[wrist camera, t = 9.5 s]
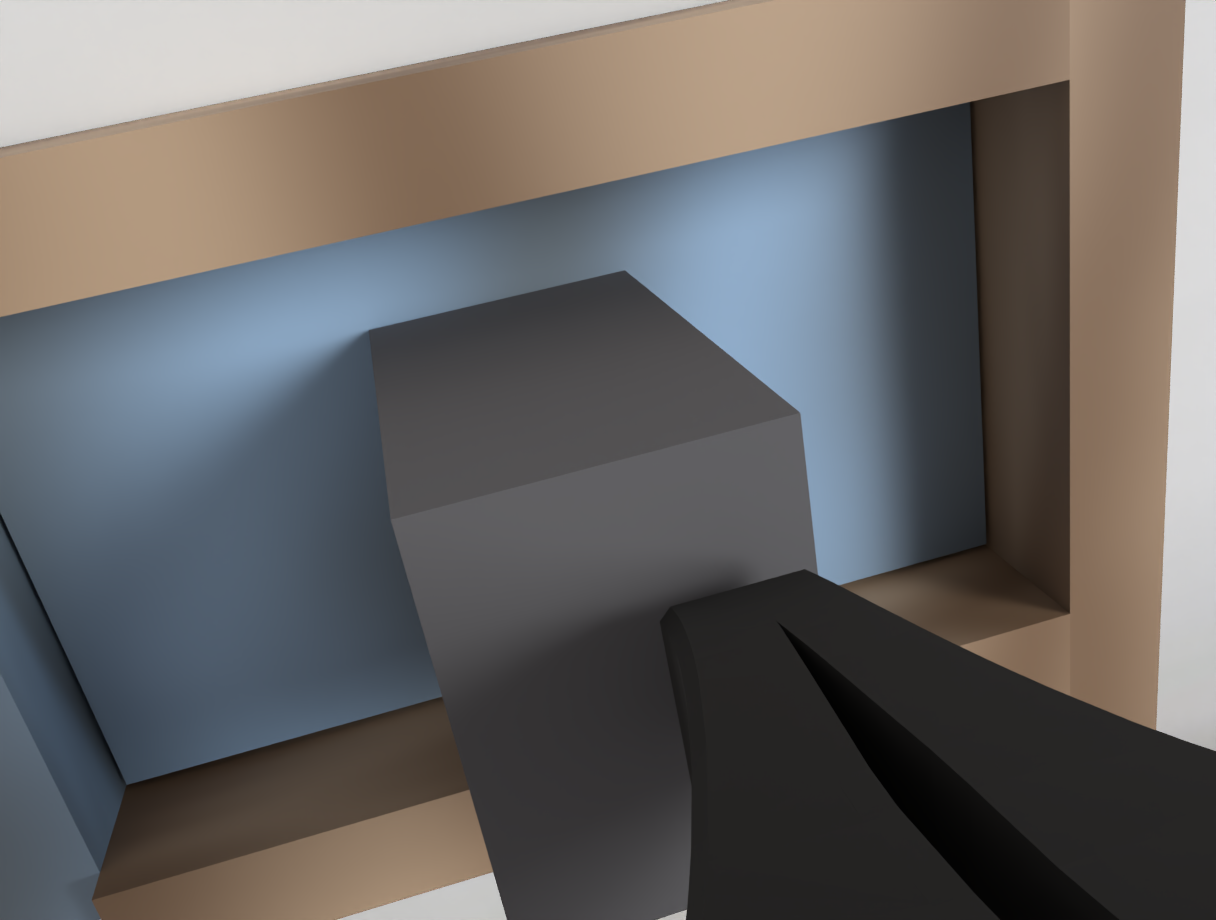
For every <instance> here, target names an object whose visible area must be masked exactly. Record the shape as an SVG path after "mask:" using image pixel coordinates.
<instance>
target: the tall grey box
mask: <svg viewBox="0 0 1216 920" xmlns="http://www.w3.org/2000/svg"><path fill="white" fill-rule="evenodd" d="M369 338H370V346H371V355H372V363H373V372H374V381H375V389H376V398H377V407H378V415H379V424H380V432H381V441H382V450H383V458H384V467H385V476H386V484H387V493H388V502H389V510H390V519H391V523H392V526H393V530H394V533H395V537H396V540H397V543H398V547H399V550H400V554H401V557H402V561H403V564H404V567H405V571H406V574H407V578H408V581H409V585H410V588H411V591H412V595H413V598H414V602H415V605H416V609H417V612H418V616H419V619H420V622H421V626H422V629H423V633H424V636H425V640H426V643H427V646H428V650H429V653H430V657H431V660H432V664H433V667H434V670H435V674H436V677H437V681H438V684H439V688H440V691H441V694H442V698H443V701H444V705H445V708H446V712H447V715H448V718H449V722H450V725H451V729H452V732H453V736H454V739H455V742H456V746H457V749H458V753H459V756H460V760H461V763H462V766H463V770H464V773H465V777H466V780H467V784H468V787H469V790H470V794H471V797H472V801H473V804H474V808H475V811H476V814H477V818H478V821H479V825H480V828H481V832H482V835H483V838H484V842H485V845H486V849H487V852H488V856H489V859H490V862H491V866H492V869H493V873H494V876H495V880H496V883H497V886H498V890H499V893H500V897H501V900H502V904H503V907H504V910H505V914H506V917H507V920H656V919H659V918H662V917H666V916H669V915H672V914H675V913H678V912H681V911H684V910H687V903H688V891H689V875H690V858H691V801H692V785H691V780H690V775H689V770H688V765H687V760H686V754H685V749H684V744H683V739H682V734H681V729H680V724H679V718H678V713H677V708H676V703H675V698H674V693H673V688H672V682H671V677H670V672H669V667H668V662H667V657H666V652H665V646H664V641H663V636H662V631H661V626H660V620H661V619H662V618H663V616H664V615H665V613H666V612H667V611H668V609H669V608H670V607H671V606H674V605H678V604H681V603H685V602H689V601H692V600H696V599H699V598H703V597H707V596H710V595H714V594H717V593H721V592H724V591H728V590H732V589H735V588H739V587H742V586H746V585H749V584H753V583H757V582H760V581H764V580H767V579H771V578H775V577H778V576H782V575H785V574H789V573H792V572H796V571H800V570H803V569H806V570H808V571H810V572H812V573H814V574H817V575H818V570H817V561H816V552H815V542H814V533H813V524H812V515H811V506H810V496H809V487H808V478H807V469H806V460H805V450H804V441H803V432H802V423H801V414H800V412H799V411H798V410H796V409H795V408H794V407H793V406H791V405H790V404H789V403H788V402H786V401H785V400H784V399H783V398H782V397H780V396H779V395H778V394H777V393H775V392H774V391H773V390H772V389H771V388H769V387H768V386H767V385H766V384H764V383H763V382H762V381H761V380H759V379H758V378H757V377H756V376H755V375H753V374H752V373H751V372H750V371H748V370H747V369H746V368H745V367H743V366H742V365H741V364H740V363H739V362H737V361H736V360H735V359H734V358H732V357H731V356H730V355H729V354H727V353H726V352H725V351H724V350H723V349H721V348H720V347H719V346H718V345H716V344H715V343H714V342H713V341H711V340H710V339H709V338H708V337H707V336H705V335H704V334H703V333H702V332H700V331H699V330H698V329H697V328H695V327H694V326H693V325H692V324H691V323H689V322H688V321H687V320H686V319H684V318H683V317H682V316H681V315H679V314H678V313H677V312H676V311H675V310H673V309H672V308H671V307H670V306H668V305H667V304H666V303H665V302H663V301H662V300H661V299H660V298H659V297H657V296H656V295H655V294H654V293H652V292H651V291H650V290H649V289H647V288H646V287H645V286H644V285H643V284H641V283H640V282H639V281H638V280H636V279H635V278H634V277H633V276H631V275H630V274H629V273H628V272H627V271H625V270H623V271H619V272H615V273H611V274H606V275H602V276H598V277H594V278H589V279H585V280H581V281H576V282H572V283H568V284H564V285H559V286H555V287H551V288H547V289H542V290H538V291H534V292H530V293H525V294H521V295H517V296H512V297H508V298H504V299H500V300H495V301H491V302H487V303H483V304H478V305H474V306H470V307H466V308H461V309H457V310H453V311H448V312H444V313H440V314H436V315H431V316H427V317H423V318H419V319H414V320H410V321H406V322H401V323H397V324H393V325H389V326H384V327H380V328H376V329H372V330H369Z"/></svg>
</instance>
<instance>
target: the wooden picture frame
mask: <svg viewBox="0 0 1216 920" xmlns="http://www.w3.org/2000/svg"><path fill="white" fill-rule="evenodd" d="M1184 24H1185V0H728V1H724V2H719V3H714V4H709V5H704V6H699V7H694V8H689V9H684V10H679V11H674V12H669V13H664V14H659V15H654V16H649V17H644V18H639V19H635V20H630V21H625V22H620V23H615V24H610V25H605V26H600V27H595V28H590V29H585V30H580V31H575V32H570V33H565V34H560V35H555V36H550V37H546V38H541V39H536V40H531V41H526V42H521V43H516V44H511V45H506V46H501V47H496V48H491V49H486V50H481V51H476V52H471V53H466V54H461V55H457V56H452V57H447V58H442V59H437V60H432V61H427V62H422V63H417V64H412V65H407V66H402V67H397V68H392V69H387V70H382V71H377V72H372V73H368V74H363V75H358V76H353V77H348V78H343V79H338V80H333V81H328V82H323V83H318V84H313V85H308V86H303V87H298V88H293V89H288V90H283V91H279V92H274V93H269V94H264V95H259V96H254V97H249V98H244V99H239V100H234V101H229V102H224V103H219V104H214V105H209V106H204V107H199V108H194V109H190V110H185V111H180V112H175V113H170V114H165V115H160V116H155V117H150V118H145V119H140V120H135V121H130V122H125V123H120V124H115V125H110V126H105V127H101V128H96V129H91V130H86V131H81V132H76V133H71V134H66V135H61V136H56V137H51V138H46V139H41V140H36V141H31V142H26V143H21V144H16V145H12V146H7V147H2V148H0V920H99V919H101V920H336V919H340V918H343V917H346V916H350V915H353V914H356V913H359V912H363V911H366V910H369V909H373V908H376V907H379V906H382V905H386V904H389V903H392V902H396V901H399V900H402V899H406V898H409V897H412V896H415V895H419V894H422V893H425V892H429V891H432V890H435V889H438V888H442V887H445V886H448V885H452V884H455V883H458V882H461V881H465V880H468V879H471V878H475V877H478V876H481V875H485V874H488V873H491V872H493V869H492V866H491V862H490V859H489V856H488V852H487V849H486V845H485V842H484V838H483V835H482V832H481V828H480V825H479V821H478V818H477V814H476V811H475V808H474V804H473V801H472V797H471V794H470V790H469V787H468V784H467V780H466V777H465V773H464V770H463V766H462V763H461V760H460V756H459V753H458V749H457V746H456V742H455V739H454V736H453V732H452V729H451V725H450V722H449V718H448V715H447V712H446V708H445V705H444V701H443V698H442V694H441V691H440V688H439V684H438V681H437V677H436V674H435V670H434V667H433V664H432V660H431V657H430V653H429V650H428V646H427V643H426V640H425V636H424V633H423V629H422V626H421V622H420V619H419V616H418V612H417V609H416V605H415V602H414V598H413V595H412V591H411V588H410V585H409V581H408V578H407V574H406V571H405V567H404V564H403V561H402V557H401V554H400V550H399V547H398V543H397V540H396V537H395V533H394V530H393V526H392V523H391V519H390V510H389V502H388V493H387V484H386V476H385V467H384V458H383V450H382V441H381V432H380V424H379V415H378V407H377V398H376V389H375V381H374V372H373V363H372V355H371V346H370V338H369V330H372V329H376V328H380V327H384V326H389V325H393V324H397V323H401V322H406V321H410V320H414V319H419V318H423V317H427V316H431V315H436V314H440V313H444V312H448V311H453V310H457V309H461V308H466V307H470V306H474V305H478V304H483V303H487V302H491V301H495V300H500V299H504V298H508V297H512V296H517V295H521V294H525V293H530V292H534V291H538V290H542V289H547V288H551V287H555V286H559V285H564V284H568V283H572V282H576V281H581V280H585V279H589V278H594V277H598V276H602V275H606V274H611V273H615V272H619V271H623V270H625V271H627V272H628V273H629V274H630V275H631V276H633V277H634V278H635V279H636V280H638V281H639V282H640V283H641V284H643V285H644V286H645V287H646V288H647V289H649V290H650V291H651V292H652V293H654V294H655V295H656V296H657V297H659V298H660V299H661V300H662V301H663V302H665V303H666V304H667V305H668V306H670V307H671V308H672V309H673V310H675V311H676V312H677V313H678V314H679V315H681V316H682V317H683V318H684V319H686V320H687V321H688V322H689V323H691V324H692V325H693V326H694V327H695V328H697V329H698V330H699V331H700V332H702V333H703V334H704V335H705V336H707V337H708V338H709V339H710V340H711V341H713V342H714V343H715V344H716V345H718V346H719V347H720V348H721V349H723V350H724V351H725V352H726V353H727V354H729V355H730V356H731V357H732V358H734V359H735V360H736V361H737V362H739V363H740V364H741V365H742V366H743V367H745V368H746V369H747V370H748V371H750V372H751V373H752V374H753V375H755V376H756V377H757V378H758V379H759V380H761V381H762V382H763V383H764V384H766V385H767V386H768V387H769V388H771V389H772V390H773V391H774V392H775V393H777V394H778V395H779V396H780V397H782V398H783V399H784V400H785V401H786V402H788V403H789V404H790V405H791V406H793V407H794V408H795V409H796V410H798V411H799V412H800V414H801V423H802V432H803V441H804V450H805V460H806V469H807V478H808V487H809V496H810V506H811V515H812V524H813V533H814V542H815V552H816V561H817V570H818V575H819V576H821V577H823V578H825V579H827V580H829V581H831V582H833V583H835V584H837V585H839V586H841V587H843V588H845V589H847V590H849V591H851V592H853V593H855V594H857V595H859V596H861V597H863V598H865V599H866V600H868V601H870V602H872V603H874V604H876V605H878V606H880V607H882V608H884V609H886V610H888V611H890V612H892V613H894V614H896V615H898V616H900V617H902V618H904V619H906V620H908V621H910V622H912V623H914V624H916V625H917V626H919V627H921V628H924V629H926V630H928V631H930V632H932V633H934V634H936V635H938V636H940V637H942V638H944V639H946V640H948V641H950V642H952V643H954V644H956V645H958V646H960V647H962V648H964V649H967V650H969V651H971V652H973V653H975V654H977V655H979V656H981V657H983V658H985V659H988V660H990V661H992V662H994V663H996V664H998V665H1001V666H1003V667H1005V668H1007V669H1009V670H1011V671H1014V672H1016V673H1018V674H1020V675H1023V676H1025V677H1027V678H1029V679H1032V680H1034V681H1036V682H1038V683H1041V684H1043V685H1045V686H1047V687H1050V688H1052V689H1054V690H1057V691H1059V692H1062V693H1064V694H1067V695H1069V696H1072V697H1074V698H1076V699H1079V700H1081V701H1084V702H1086V703H1089V704H1091V705H1094V706H1096V707H1098V708H1101V709H1103V710H1106V711H1108V712H1111V713H1113V714H1115V715H1118V716H1120V717H1123V718H1125V719H1128V720H1130V721H1133V722H1135V723H1138V724H1140V725H1143V726H1146V727H1148V728H1151V729H1154V730H1156V718H1157V693H1158V668H1159V643H1160V618H1161V594H1162V569H1163V544H1164V519H1165V495H1166V470H1167V445H1168V420H1169V396H1170V371H1171V346H1172V321H1173V296H1174V272H1175V247H1176V222H1177V197H1178V173H1179V148H1180V123H1181V98H1182V74H1183V49H1184Z"/></svg>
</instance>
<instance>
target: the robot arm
mask: <svg viewBox="0 0 1216 920" xmlns="http://www.w3.org/2000/svg"><path fill="white" fill-rule="evenodd" d="M660 626H661V631H662V636H663V641H664V646H665V652H666V657H667V662H668V667H669V672H670V677H671V682H672V688H673V693H674V698H675V703H676V708H677V713H678V718H679V724H680V729H681V734H682V739H683V744H684V749H685V754H686V760H687V765H688V770H689V775H690V780H691V785H692V801H691V858H690V875H689V891H688V903H687V915H686V920H1216V751H1213V750H1210V749H1207V748H1204V747H1201V746H1198V745H1195V744H1192V743H1189V742H1186V741H1184V740H1181V739H1178V738H1176V737H1173V736H1170V735H1167V734H1165V733H1162V732H1159V731H1157V730H1154V729H1151V728H1148V727H1146V726H1143V725H1140V724H1138V723H1135V722H1133V721H1130V720H1128V719H1125V718H1123V717H1120V716H1118V715H1115V714H1113V713H1111V712H1108V711H1106V710H1103V709H1101V708H1098V707H1096V706H1094V705H1091V704H1089V703H1086V702H1084V701H1081V700H1079V699H1076V698H1074V697H1072V696H1069V695H1067V694H1064V693H1062V692H1059V691H1057V690H1054V689H1052V688H1050V687H1047V686H1045V685H1043V684H1041V683H1038V682H1036V681H1034V680H1032V679H1029V678H1027V677H1025V676H1023V675H1020V674H1018V673H1016V672H1014V671H1011V670H1009V669H1007V668H1005V667H1003V666H1001V665H998V664H996V663H994V662H992V661H990V660H988V659H985V658H983V657H981V656H979V655H977V654H975V653H973V652H971V651H969V650H967V649H964V648H962V647H960V646H958V645H956V644H954V643H952V642H950V641H948V640H946V639H944V638H942V637H940V636H938V635H936V634H934V633H932V632H930V631H928V630H926V629H924V628H921V627H919V626H917V625H916V624H914V623H912V622H910V621H908V620H906V619H904V618H902V617H900V616H898V615H896V614H894V613H892V612H890V611H888V610H886V609H884V608H882V607H880V606H878V605H876V604H874V603H872V602H870V601H868V600H866V599H865V598H863V597H861V596H859V595H857V594H855V593H853V592H851V591H849V590H847V589H845V588H843V587H841V586H839V585H837V584H835V583H833V582H831V581H829V580H827V579H825V578H823V577H821V576H819V575H817V574H814V573H812V572H810V571H808V570H806V569H803V570H800V571H796V572H792V573H789V574H785V575H782V576H778V577H775V578H771V579H767V580H764V581H760V582H757V583H753V584H749V585H746V586H742V587H739V588H735V589H732V590H728V591H724V592H721V593H717V594H714V595H710V596H707V597H703V598H699V599H696V600H692V601H689V602H685V603H681V604H678V605H674V606H671V607H670V608H669V609H668V611H667V612H666V613H665V615H664V616H663V618H662V619H661V620H660Z"/></svg>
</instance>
